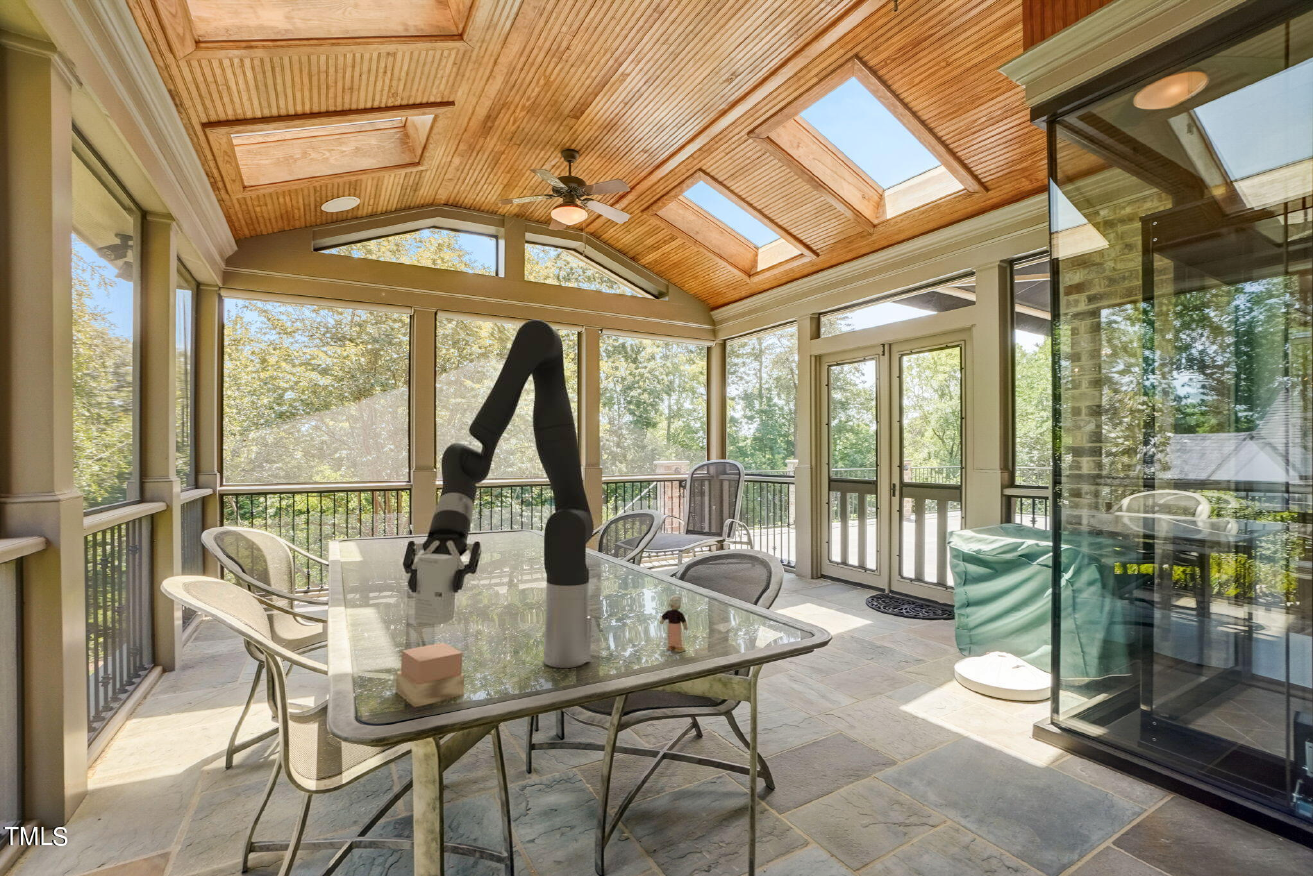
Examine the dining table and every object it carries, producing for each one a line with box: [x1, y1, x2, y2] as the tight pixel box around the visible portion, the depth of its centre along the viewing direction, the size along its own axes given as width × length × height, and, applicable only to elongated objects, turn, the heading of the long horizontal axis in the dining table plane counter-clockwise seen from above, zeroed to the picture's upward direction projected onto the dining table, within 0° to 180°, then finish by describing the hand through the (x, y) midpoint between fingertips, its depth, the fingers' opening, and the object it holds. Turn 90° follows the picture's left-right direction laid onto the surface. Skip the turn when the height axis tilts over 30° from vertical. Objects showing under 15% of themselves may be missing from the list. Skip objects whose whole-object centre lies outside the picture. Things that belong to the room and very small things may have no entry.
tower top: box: [400, 642, 463, 684], centre depth 113 cm, size 8×8×4 cm
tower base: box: [395, 670, 465, 708], centre depth 113 cm, size 9×9×4 cm
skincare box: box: [413, 553, 458, 626], centre depth 114 cm, size 6×4×12 cm
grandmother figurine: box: [659, 594, 689, 653], centre depth 144 cm, size 8×4×13 cm, turn 65°
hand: (434, 590), depth 112 cm, fingers closed on skincare box, 7 cm apart
